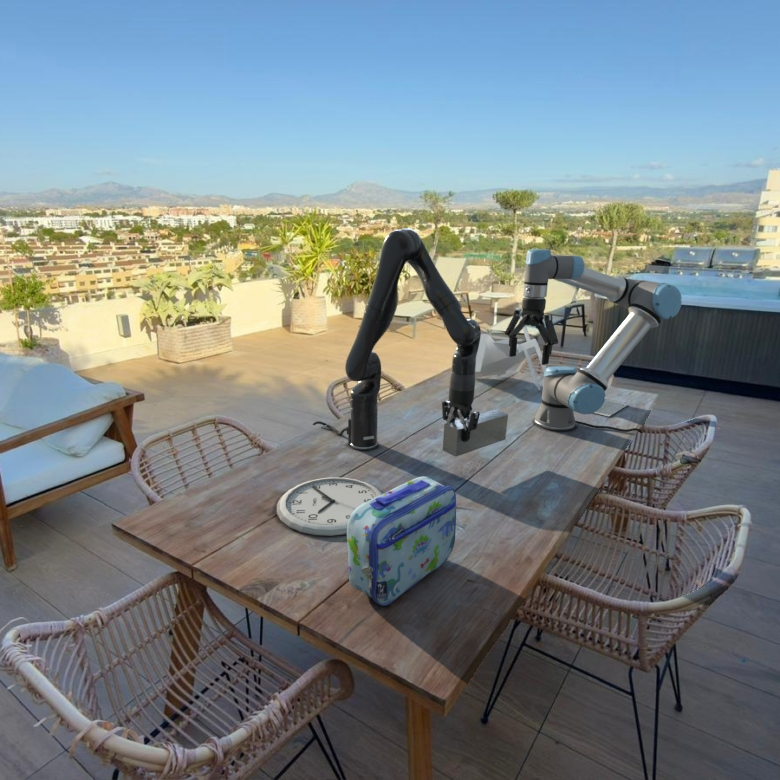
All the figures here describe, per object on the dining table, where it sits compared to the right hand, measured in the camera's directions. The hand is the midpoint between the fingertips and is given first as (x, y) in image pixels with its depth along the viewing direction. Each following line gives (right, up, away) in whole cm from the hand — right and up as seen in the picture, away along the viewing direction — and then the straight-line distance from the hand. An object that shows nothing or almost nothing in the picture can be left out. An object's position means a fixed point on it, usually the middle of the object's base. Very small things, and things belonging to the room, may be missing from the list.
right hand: (528, 360), depth 179 cm
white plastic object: (+9, -8, +77) cm, 78 cm away
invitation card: (+44, -18, +48) cm, 67 cm away
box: (-20, -28, -10) cm, 36 cm away
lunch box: (-44, -51, -65) cm, 94 cm away
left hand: (-26, -25, -16) cm, 40 cm away
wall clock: (-63, -42, -36) cm, 84 cm away
